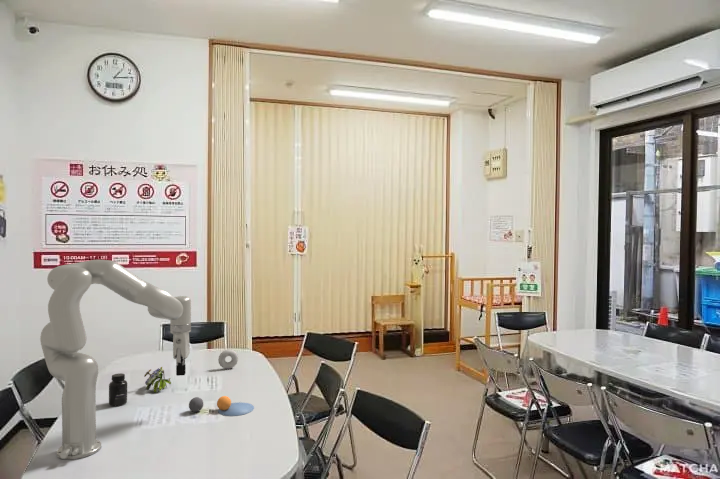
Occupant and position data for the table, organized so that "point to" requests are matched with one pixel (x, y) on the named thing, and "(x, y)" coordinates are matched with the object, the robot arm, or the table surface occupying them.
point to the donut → (232, 363)
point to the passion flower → (156, 376)
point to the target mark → (237, 409)
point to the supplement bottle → (118, 390)
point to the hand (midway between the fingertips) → (180, 374)
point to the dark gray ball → (196, 404)
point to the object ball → (224, 403)
